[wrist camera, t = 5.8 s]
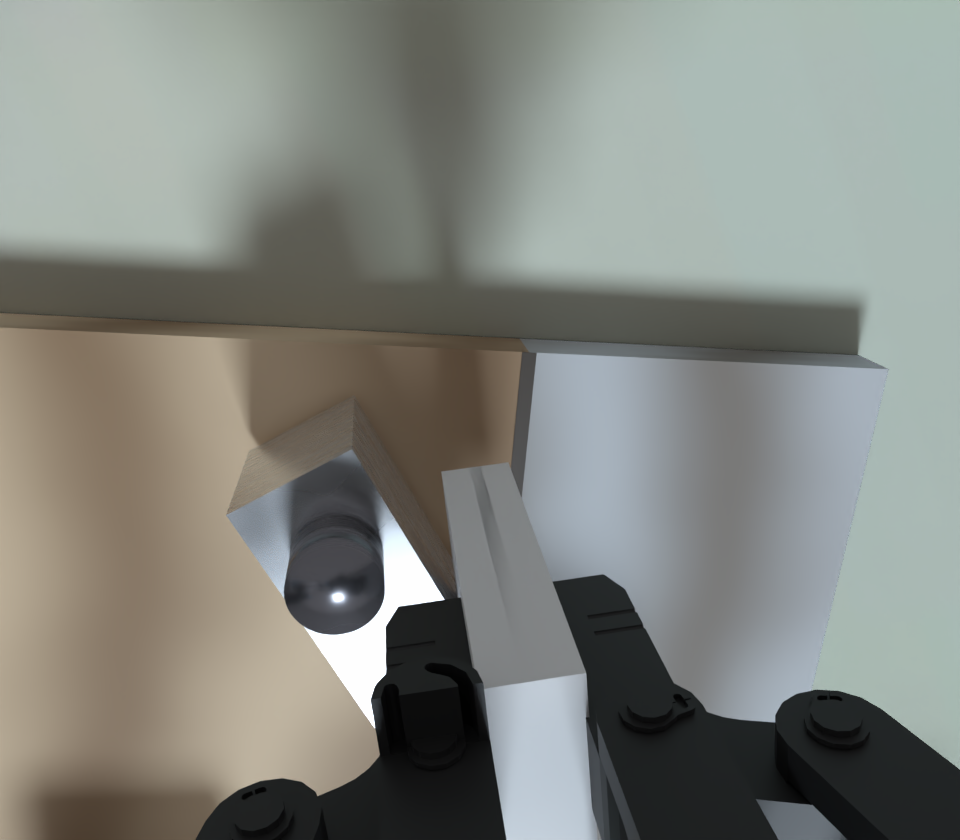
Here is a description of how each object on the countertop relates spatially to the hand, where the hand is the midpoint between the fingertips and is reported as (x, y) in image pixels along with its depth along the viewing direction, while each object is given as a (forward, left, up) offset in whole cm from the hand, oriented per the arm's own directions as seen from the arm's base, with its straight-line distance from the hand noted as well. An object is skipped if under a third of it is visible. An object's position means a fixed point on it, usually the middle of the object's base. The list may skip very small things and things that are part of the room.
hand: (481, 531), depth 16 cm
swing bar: (-1, -3, -2) cm, 3 cm away
